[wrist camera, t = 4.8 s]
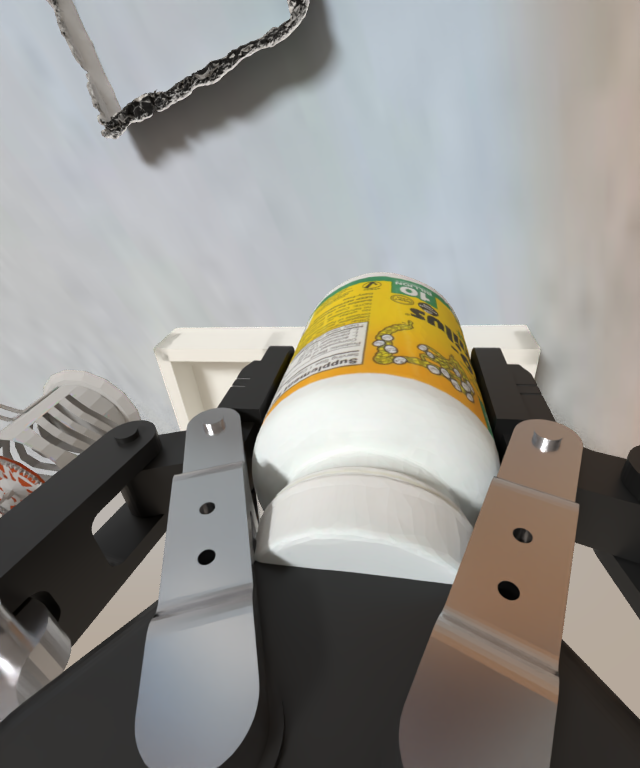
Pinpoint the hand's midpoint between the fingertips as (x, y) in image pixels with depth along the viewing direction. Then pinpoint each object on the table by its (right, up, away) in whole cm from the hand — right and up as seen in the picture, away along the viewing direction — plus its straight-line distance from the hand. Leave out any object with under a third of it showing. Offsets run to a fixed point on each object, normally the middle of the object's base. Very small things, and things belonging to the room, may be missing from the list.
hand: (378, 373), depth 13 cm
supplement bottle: (0, +1, +2) cm, 2 cm away
